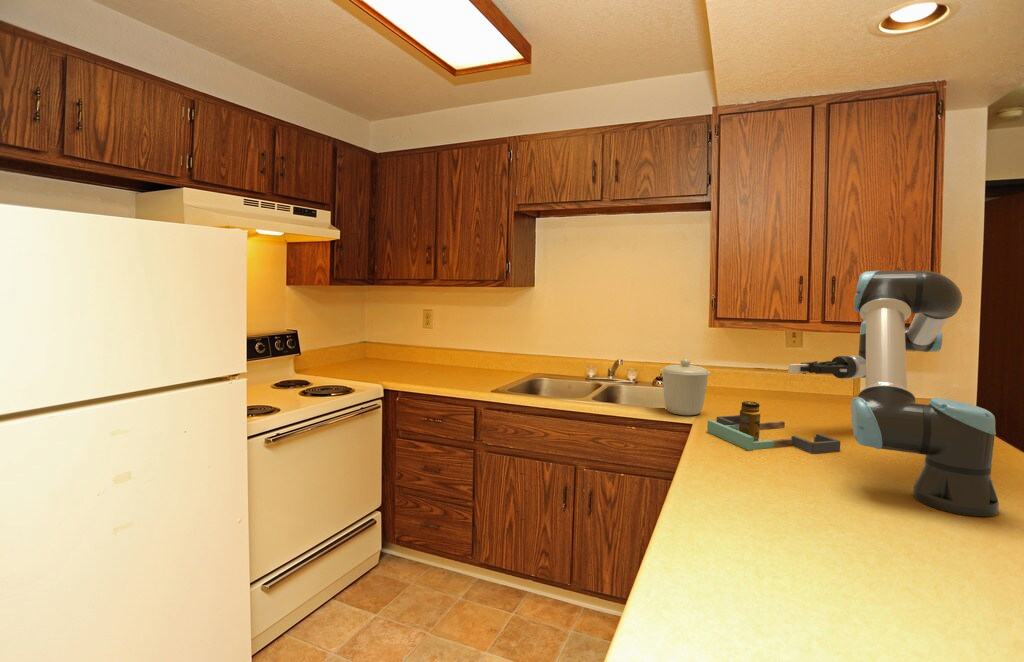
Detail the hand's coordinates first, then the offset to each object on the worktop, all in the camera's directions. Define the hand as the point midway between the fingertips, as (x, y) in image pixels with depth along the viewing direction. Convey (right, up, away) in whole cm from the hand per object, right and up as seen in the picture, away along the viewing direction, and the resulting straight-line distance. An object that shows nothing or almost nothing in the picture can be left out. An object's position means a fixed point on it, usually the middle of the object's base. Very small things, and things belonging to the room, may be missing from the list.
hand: (790, 368), depth 174 cm
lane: (-3, -22, +1) cm, 23 cm away
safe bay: (-18, -23, -3) cm, 29 cm away
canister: (-24, -19, +33) cm, 45 cm away
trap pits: (-5, -22, +1) cm, 23 cm away
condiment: (-15, -23, -2) cm, 27 cm away
